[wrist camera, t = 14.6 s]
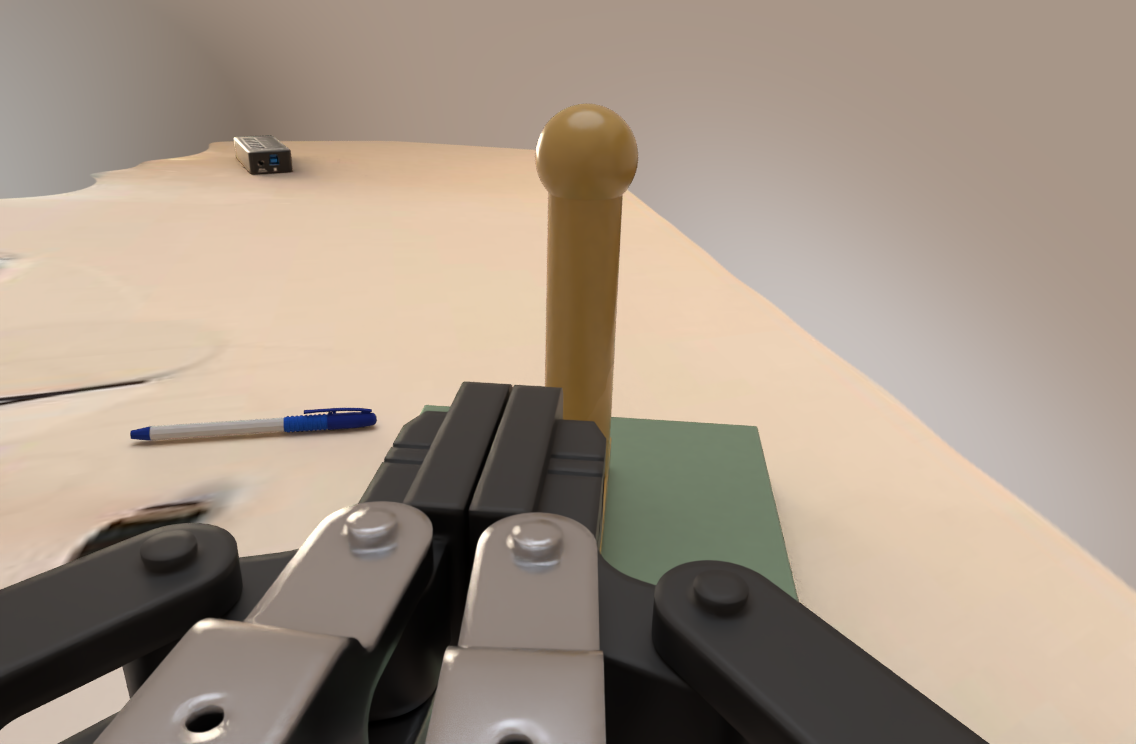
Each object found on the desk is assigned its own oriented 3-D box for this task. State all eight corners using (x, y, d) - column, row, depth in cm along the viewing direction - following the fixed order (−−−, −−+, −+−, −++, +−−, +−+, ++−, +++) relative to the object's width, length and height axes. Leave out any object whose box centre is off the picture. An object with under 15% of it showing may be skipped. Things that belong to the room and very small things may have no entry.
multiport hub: (274, 154, 103) (272, 134, 102) (293, 171, 94) (291, 150, 94) (235, 156, 101) (232, 136, 100) (250, 174, 93) (248, 152, 92)
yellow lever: (621, 465, 32) (642, 95, 27) (606, 677, 22) (635, 155, 17) (541, 459, 33) (546, 92, 27) (490, 667, 23) (484, 149, 17)
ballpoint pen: (376, 420, 41) (375, 401, 40) (377, 428, 40) (376, 409, 40) (134, 439, 39) (130, 419, 38) (129, 448, 38) (125, 428, 37)
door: (750, 477, 37) (764, 372, 35) (868, 1070, 17) (916, 896, 15) (426, 455, 38) (422, 351, 36) (164, 987, 18) (120, 815, 16)
